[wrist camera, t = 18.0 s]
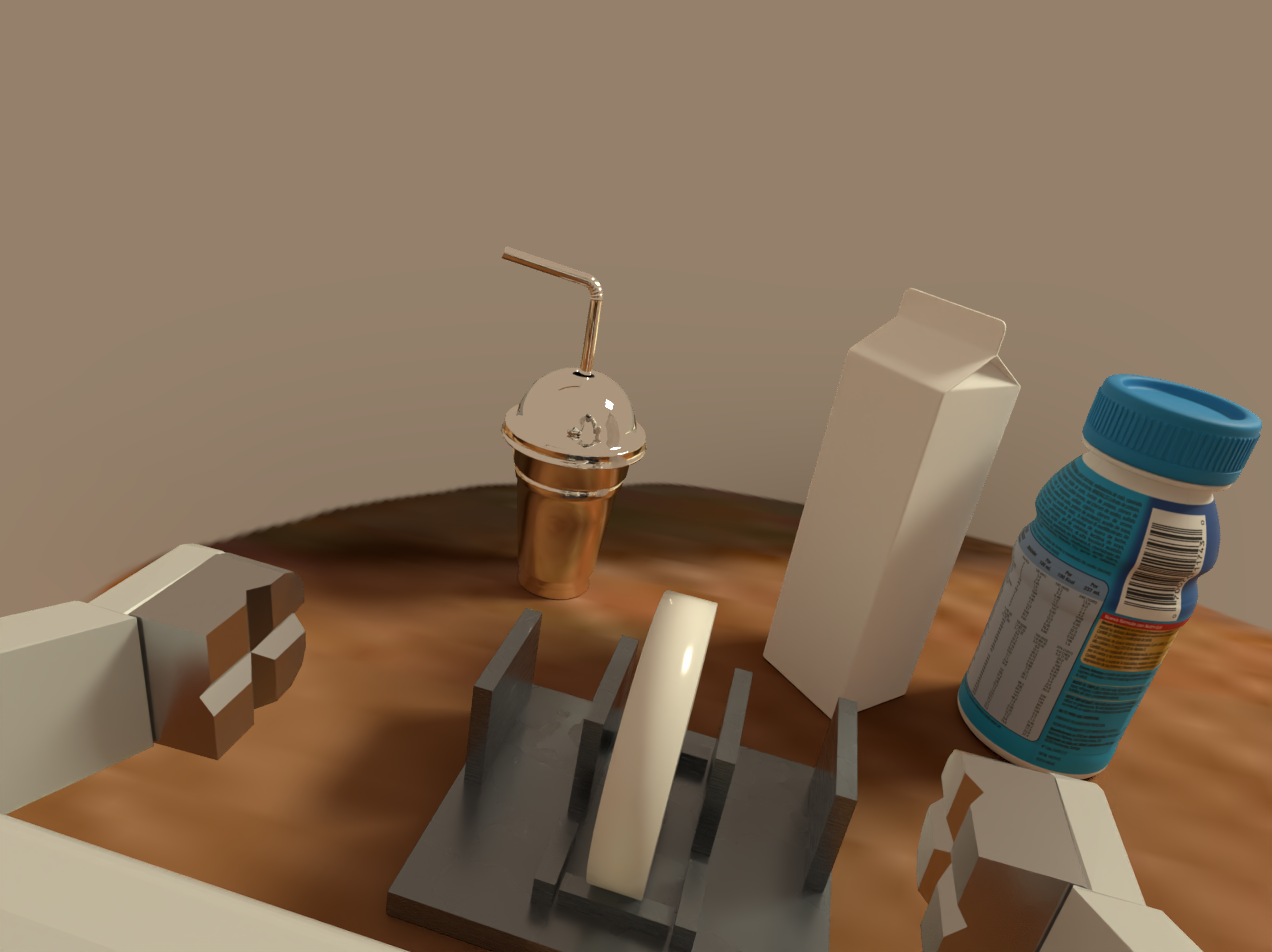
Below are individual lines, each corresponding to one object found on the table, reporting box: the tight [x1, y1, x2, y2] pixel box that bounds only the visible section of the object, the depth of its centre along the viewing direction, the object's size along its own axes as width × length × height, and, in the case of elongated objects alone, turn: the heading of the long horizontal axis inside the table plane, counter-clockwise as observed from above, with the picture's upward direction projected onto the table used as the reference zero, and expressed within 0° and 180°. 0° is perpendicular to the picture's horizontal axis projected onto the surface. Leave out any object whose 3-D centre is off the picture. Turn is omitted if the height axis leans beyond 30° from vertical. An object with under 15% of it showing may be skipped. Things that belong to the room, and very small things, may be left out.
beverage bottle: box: [957, 374, 1262, 779], centre depth 43 cm, size 8×8×20 cm
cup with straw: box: [501, 246, 647, 599], centre depth 49 cm, size 8×9×20 cm
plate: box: [586, 590, 718, 901], centre depth 32 cm, size 2×11×11 cm, turn 167°
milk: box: [763, 288, 1020, 719], centre depth 44 cm, size 6×6×22 cm
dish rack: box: [386, 608, 857, 952], centre depth 35 cm, size 16×13×6 cm
